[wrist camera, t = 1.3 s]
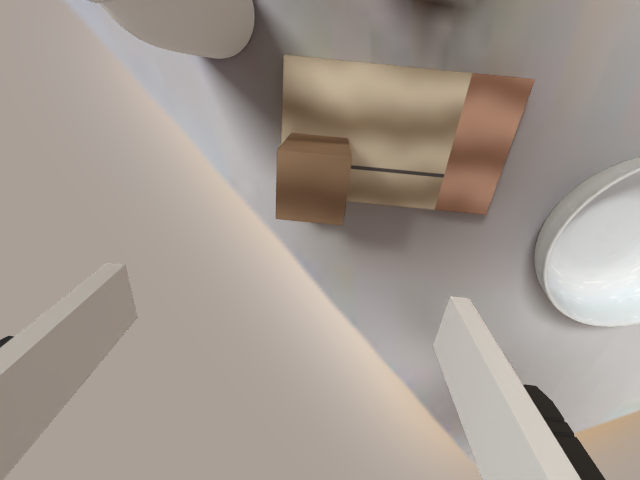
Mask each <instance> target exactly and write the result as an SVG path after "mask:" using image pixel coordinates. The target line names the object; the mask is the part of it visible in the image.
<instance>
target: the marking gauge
mask: <svg viewBox="0 0 640 480" xmlns="http://www.w3.org/2000/svg"><path fill="white" fill-rule="evenodd" d="M351 163H352V154H351V150H350V145H349V141H348V138H342V137H331V136H321V135H311V134H300V133H290V135H289V136H288V137H287V138H286V140H285V141H284V142H283V143H282V145H281V146H280V147H279V148H278V150H277V182H276V219H282V220H292V221H303V222H313V223H324V224H334V225H343V223H344V216H345V208H346V201H347V193H348V186H349V178H350V171H351Z"/></svg>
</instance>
